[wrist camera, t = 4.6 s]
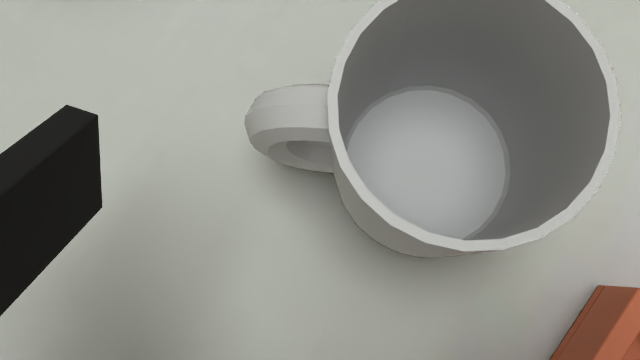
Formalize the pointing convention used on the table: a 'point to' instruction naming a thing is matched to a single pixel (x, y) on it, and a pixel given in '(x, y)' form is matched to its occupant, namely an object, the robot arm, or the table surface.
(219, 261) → the table surface
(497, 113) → the cup
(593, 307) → the terracotta tray
